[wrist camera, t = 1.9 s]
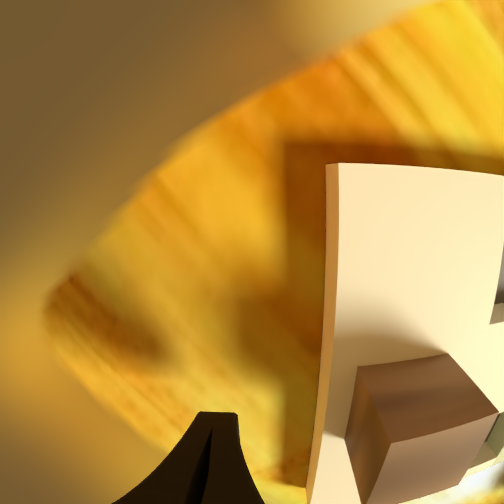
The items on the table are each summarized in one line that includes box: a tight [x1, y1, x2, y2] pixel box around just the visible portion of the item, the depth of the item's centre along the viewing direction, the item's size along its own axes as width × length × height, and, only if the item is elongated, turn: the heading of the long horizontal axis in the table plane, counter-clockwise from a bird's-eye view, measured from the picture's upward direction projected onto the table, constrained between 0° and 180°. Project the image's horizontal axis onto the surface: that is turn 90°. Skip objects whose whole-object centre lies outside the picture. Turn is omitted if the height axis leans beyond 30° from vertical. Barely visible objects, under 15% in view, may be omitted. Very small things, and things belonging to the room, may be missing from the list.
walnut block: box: [344, 353, 499, 504], centre depth 9 cm, size 4×4×4 cm
